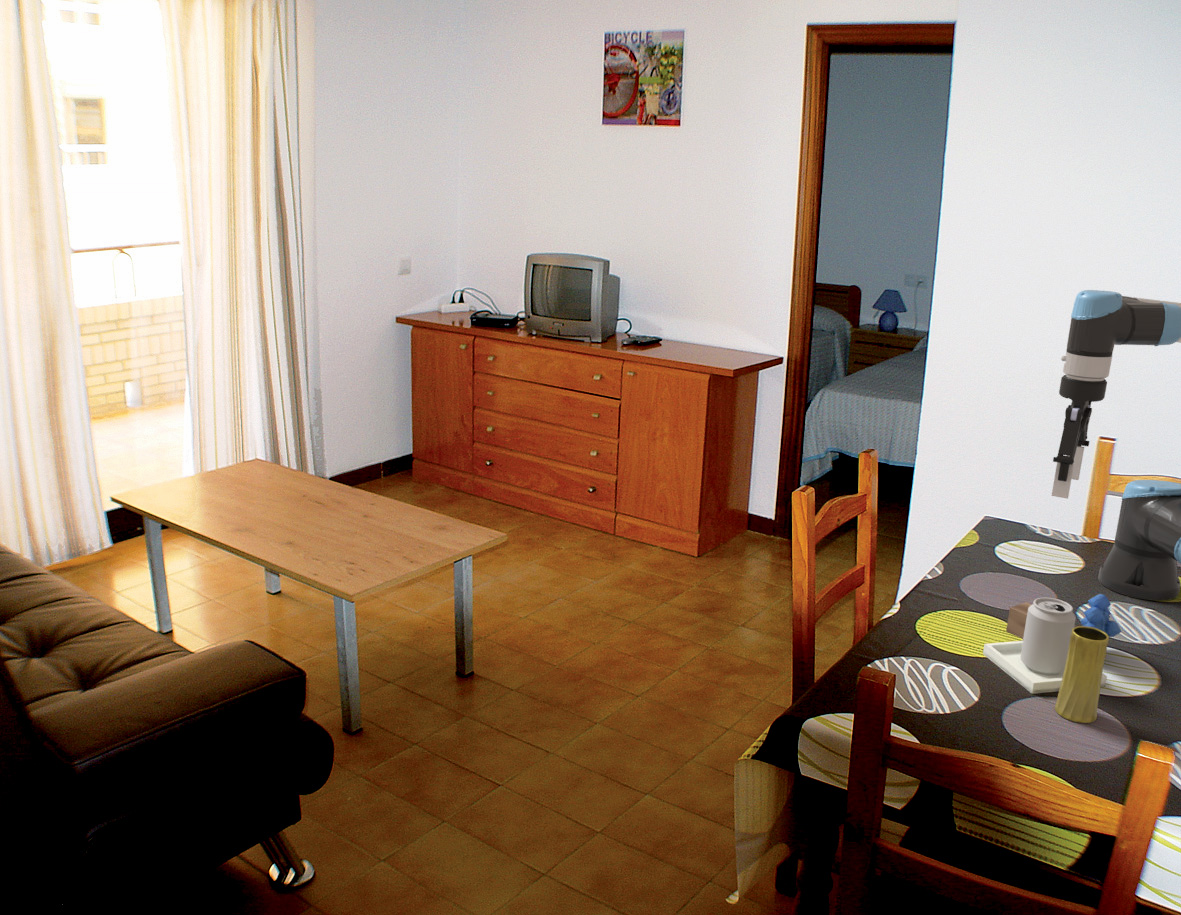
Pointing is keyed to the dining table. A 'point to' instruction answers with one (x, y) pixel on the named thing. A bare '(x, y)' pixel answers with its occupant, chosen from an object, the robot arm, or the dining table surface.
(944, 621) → the dining table surface
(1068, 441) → the robot arm
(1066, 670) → the vase
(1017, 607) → the walnut block
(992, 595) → the dining table surface
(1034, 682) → the tray
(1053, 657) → the can
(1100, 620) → the grapes
